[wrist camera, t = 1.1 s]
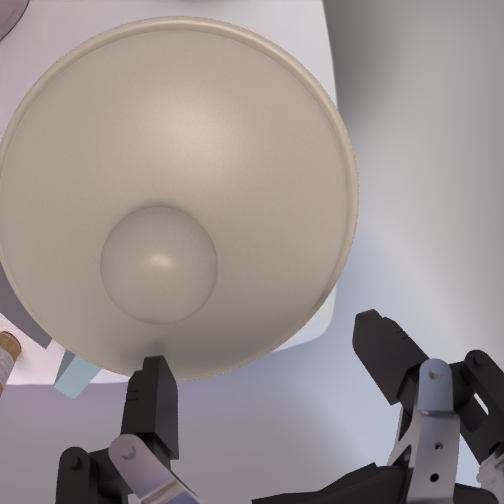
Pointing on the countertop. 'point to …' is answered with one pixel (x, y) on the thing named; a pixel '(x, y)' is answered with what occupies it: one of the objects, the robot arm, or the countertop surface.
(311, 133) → the canister
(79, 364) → the card box
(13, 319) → the mat
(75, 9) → the countertop surface
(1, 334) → the sprinkles bottle
